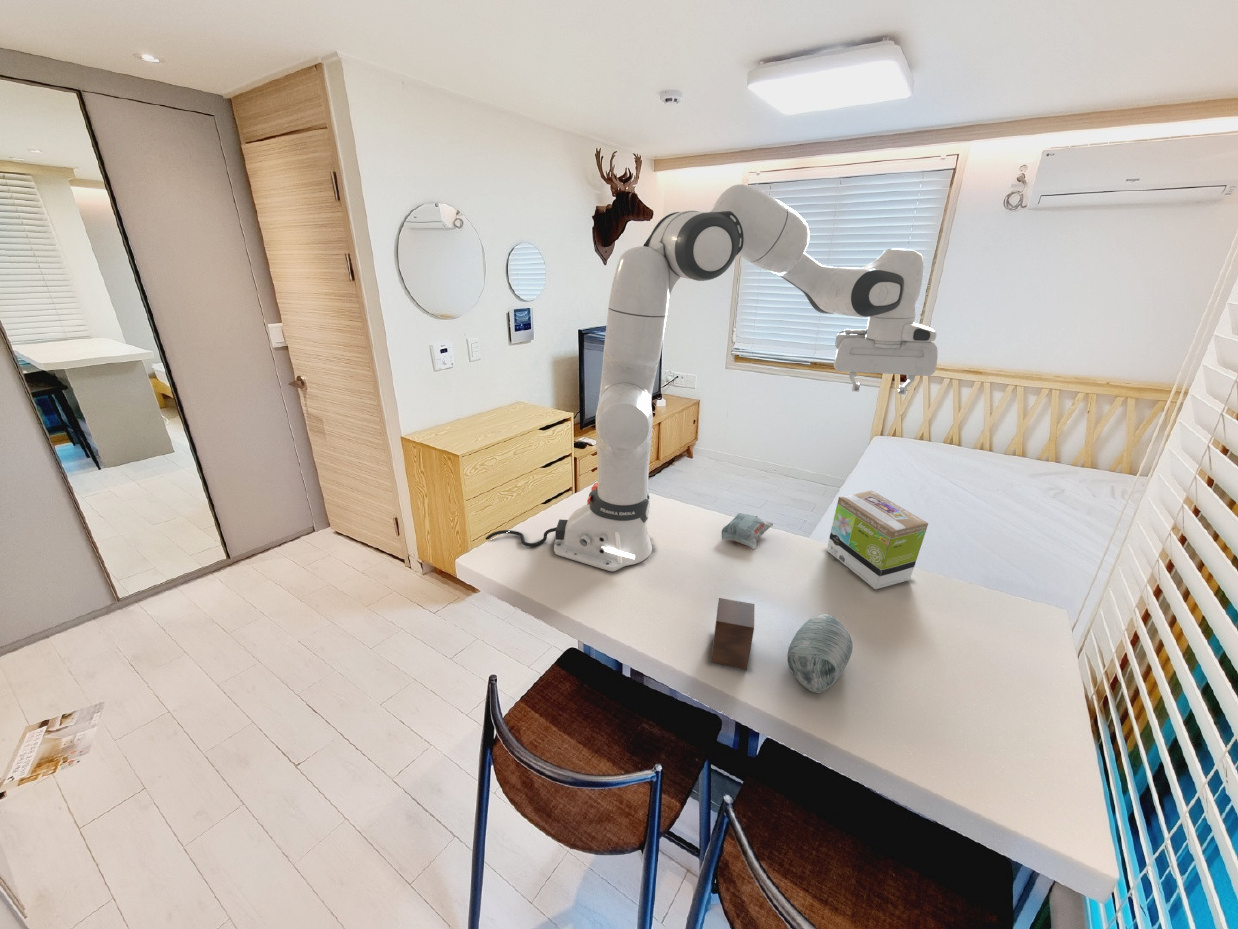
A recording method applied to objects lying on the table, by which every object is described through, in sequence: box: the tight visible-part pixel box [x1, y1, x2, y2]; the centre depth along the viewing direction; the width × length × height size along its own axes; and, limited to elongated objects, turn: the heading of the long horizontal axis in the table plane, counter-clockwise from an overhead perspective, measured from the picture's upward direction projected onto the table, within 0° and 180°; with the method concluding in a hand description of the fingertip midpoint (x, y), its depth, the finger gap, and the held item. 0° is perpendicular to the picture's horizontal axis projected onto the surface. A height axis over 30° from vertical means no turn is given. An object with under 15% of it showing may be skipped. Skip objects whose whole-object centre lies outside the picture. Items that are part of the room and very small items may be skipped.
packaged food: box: [721, 512, 774, 550], centre depth 119 cm, size 9×12×5 cm
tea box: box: [826, 489, 929, 590], centre depth 108 cm, size 15×10×15 cm
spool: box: [786, 613, 854, 694], centre depth 83 cm, size 14×10×10 cm
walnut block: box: [710, 597, 755, 670], centre depth 85 cm, size 6×6×9 cm
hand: (878, 392), depth 114 cm, fingers open, 8 cm apart
